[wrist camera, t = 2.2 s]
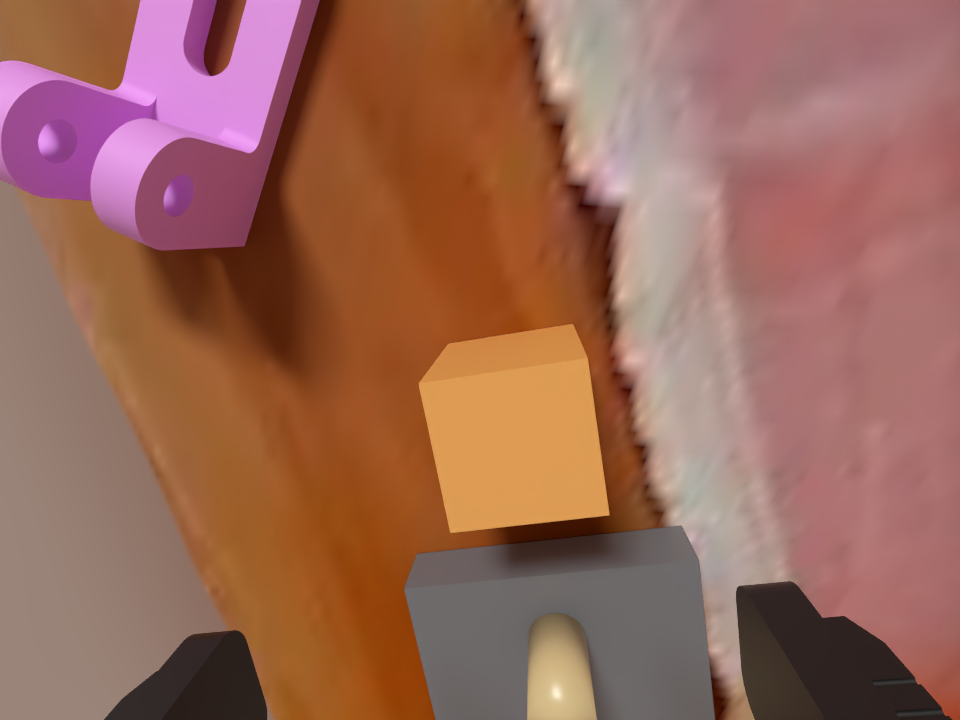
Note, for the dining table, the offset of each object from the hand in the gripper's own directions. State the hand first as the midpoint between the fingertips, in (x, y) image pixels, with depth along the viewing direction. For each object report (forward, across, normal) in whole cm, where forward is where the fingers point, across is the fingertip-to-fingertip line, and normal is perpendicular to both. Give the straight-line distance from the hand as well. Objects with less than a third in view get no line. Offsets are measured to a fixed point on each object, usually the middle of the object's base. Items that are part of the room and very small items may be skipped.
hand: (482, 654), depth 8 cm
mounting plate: (+14, 0, +14) cm, 20 cm away
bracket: (+15, +9, -15) cm, 23 cm away
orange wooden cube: (+14, 0, 0) cm, 14 cm away
